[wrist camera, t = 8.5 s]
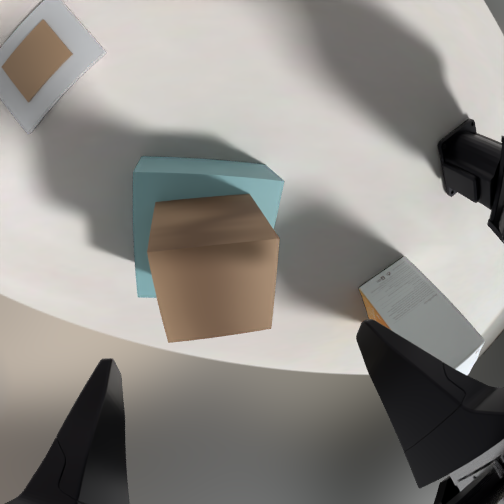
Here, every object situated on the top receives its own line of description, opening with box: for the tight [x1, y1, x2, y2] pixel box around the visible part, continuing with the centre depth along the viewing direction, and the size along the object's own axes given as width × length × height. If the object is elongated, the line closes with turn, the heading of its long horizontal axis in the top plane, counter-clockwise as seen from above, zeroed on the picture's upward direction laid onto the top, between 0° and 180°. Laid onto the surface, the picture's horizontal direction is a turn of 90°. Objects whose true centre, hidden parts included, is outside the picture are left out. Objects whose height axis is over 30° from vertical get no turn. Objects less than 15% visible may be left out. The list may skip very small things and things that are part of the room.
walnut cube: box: [147, 194, 280, 343], centre depth 14 cm, size 5×5×5 cm
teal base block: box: [133, 156, 284, 298], centre depth 18 cm, size 8×8×4 cm
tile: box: [0, 0, 107, 134], centre depth 10 cm, size 7×7×1 cm
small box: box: [359, 256, 485, 375], centre depth 24 cm, size 8×6×13 cm
